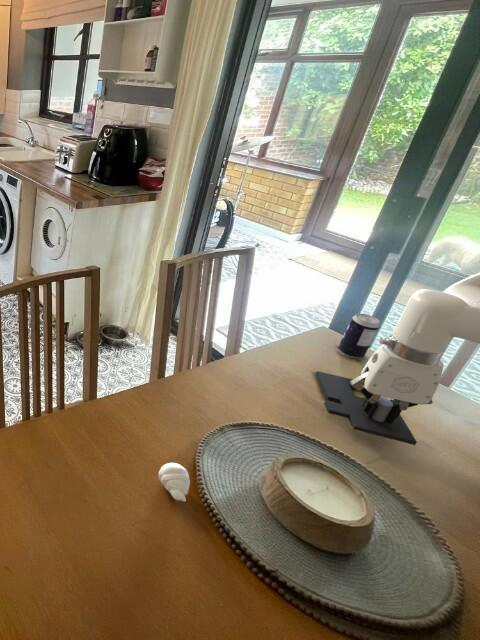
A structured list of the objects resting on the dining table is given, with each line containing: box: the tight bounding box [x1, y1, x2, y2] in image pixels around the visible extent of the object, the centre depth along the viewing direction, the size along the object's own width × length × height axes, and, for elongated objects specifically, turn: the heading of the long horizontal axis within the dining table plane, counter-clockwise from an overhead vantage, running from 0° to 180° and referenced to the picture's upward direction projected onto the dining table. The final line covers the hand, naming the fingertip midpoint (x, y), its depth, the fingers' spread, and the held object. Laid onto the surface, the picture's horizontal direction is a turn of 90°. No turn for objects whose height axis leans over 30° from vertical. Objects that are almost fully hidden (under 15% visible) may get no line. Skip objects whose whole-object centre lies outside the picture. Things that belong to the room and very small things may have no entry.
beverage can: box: [337, 313, 381, 359], centre depth 113 cm, size 6×6×12 cm
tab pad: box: [323, 395, 418, 446], centre depth 90 cm, size 14×10×6 cm
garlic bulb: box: [158, 462, 191, 503], centre depth 78 cm, size 6×6×5 cm
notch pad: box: [315, 370, 366, 404], centre depth 102 cm, size 10×10×1 cm
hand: (376, 415), depth 90 cm, fingers closed on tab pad, 2 cm apart
